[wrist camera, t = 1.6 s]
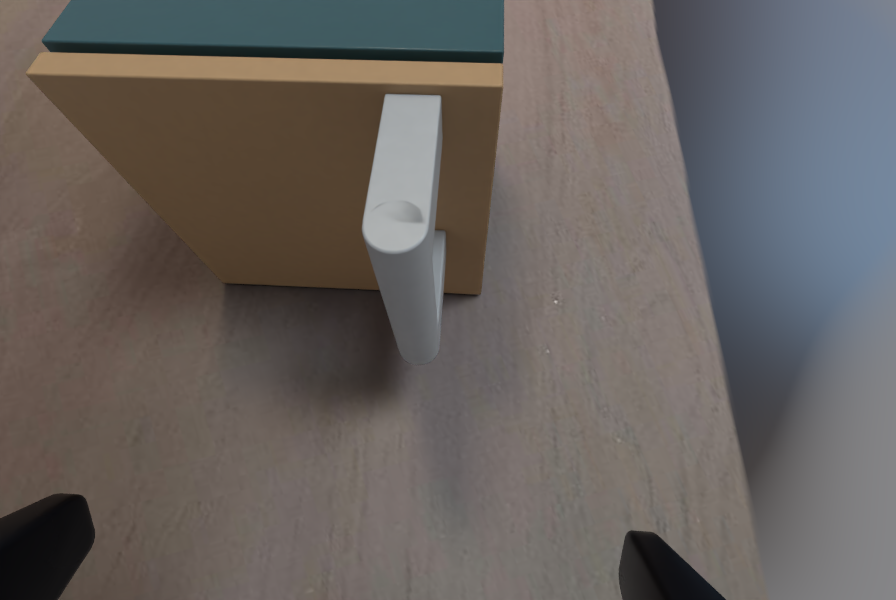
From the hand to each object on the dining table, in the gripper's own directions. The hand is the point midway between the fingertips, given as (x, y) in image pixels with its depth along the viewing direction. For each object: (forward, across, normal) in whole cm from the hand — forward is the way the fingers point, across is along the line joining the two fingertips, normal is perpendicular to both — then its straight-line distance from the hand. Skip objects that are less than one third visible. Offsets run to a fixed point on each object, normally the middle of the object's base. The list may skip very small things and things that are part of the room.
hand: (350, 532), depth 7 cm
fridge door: (+15, +4, +3) cm, 16 cm away
